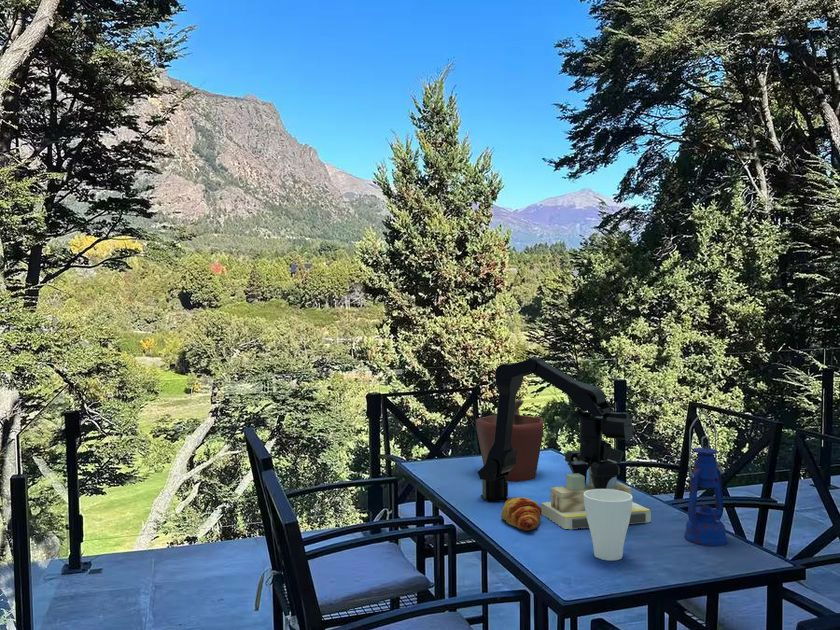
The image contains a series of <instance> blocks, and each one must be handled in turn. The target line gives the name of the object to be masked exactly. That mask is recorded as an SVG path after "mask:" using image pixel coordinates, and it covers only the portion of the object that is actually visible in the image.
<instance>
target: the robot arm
mask: <svg viewBox="0 0 840 630" xmlns="http://www.w3.org/2000/svg"><path fill="white" fill-rule="evenodd" d="M532 374H534V375H535V376H537V377H539V378H540V379H542V380H543V381H545V382H547V383H549V384H550V385H551V386H553V387H554V388H556V389H558V390H560V391H562V392H563V393H564V394H565V395H566V396H568V398H569V399H570V401H571V402H572V403H573V404H575V405H576V407H578V408H577V410H576V411H575V412H574V413H573V414H572V415H571V417H572V418H573V419H574V418H576V419H579V438H576V443H577V444H579V449H574V450H567V451H566V452H565V454H564V461H565V462H567V465H568V466H569V469H570V470H571V474H577V473H579V474H581V475H583V476H585V485H587V476H588V471H589V467H590V466H591V472H592V474H590V475H591V478H592V482H593V485H594V489H606V487H607V484H608V482H609V480H611V479H612V478H613V477H616V478H617V476H619V475H620V466H619V464H621V462H622V458H623V456H624V451H622V450H618V449H616V448H614V447H612V443H610V442H608V441H606V440H605V439H603V436H604V437H606V438H607V439H614V440H615V439H616V440H624V441H629V440H630V439H631V438H632V436H633V432H634V425H633V421H632V420H631V419H632V418H630V413H629V412H626V411H625V412H615V411H614V409H613V408H612V407H611V405H610V403H609V402H608V401H607V399H606V396H605V392H604V390H602V388H600V387H598V386H595V385H592V384H589V383H586V382H583V381H579V380H577V379H575V378H573V377H571V376H569V375H568V374H566V373H565V372H564V371H561V370H559V369H558V368H556V367H555V366H552V365H551V364H549V363H548V362H546V361H544V359H542V358H541V357H539V356H538V357H537V356H536V357H530V358H527V359H525V360H522V361H518V362H508V363H507V362H506V363H501V364H500V365H498V366H497V367H496V368H495V371H494V378H495V379H494V380H495V386H496V389H497V391H498V400H497V401H498V402H497V410H496V415H497V418H496V428H495V437H494V443H493V445H492V447H491V448H490V450H489V452H488V456H487V459H486V464H485V465H483V466H482V467H481V468H480V469H479V470H478V472H477V473H478V477H479V480H482V488H481V489H482V490H481V491H482V494H480V497H481V498H482V499H483V500H485V501H486V503H487V502H488V503H494V502H506V501H507V500H508V499H509V482H508V481H506V478H505V477H506V476H509V473H510V470H512V469H513V467H514V464H517V463H516V456H517V450H513V448H512V446H511V436H512V427H513V418H514V409H515V400H517V394H518V392H519V391H520V389H521V387H522V384H523V382H524V377H526V376H530V375H532ZM608 459H610V460H613V461H616V463H614V462H611V461H608Z"/></svg>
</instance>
